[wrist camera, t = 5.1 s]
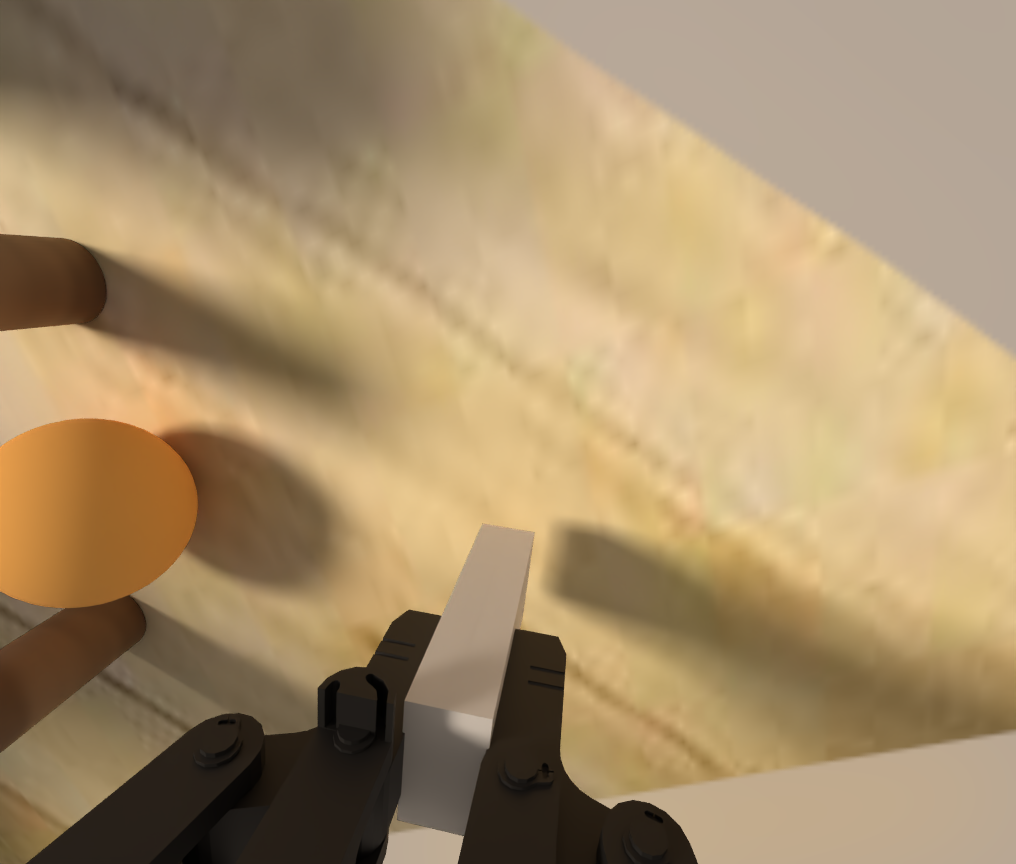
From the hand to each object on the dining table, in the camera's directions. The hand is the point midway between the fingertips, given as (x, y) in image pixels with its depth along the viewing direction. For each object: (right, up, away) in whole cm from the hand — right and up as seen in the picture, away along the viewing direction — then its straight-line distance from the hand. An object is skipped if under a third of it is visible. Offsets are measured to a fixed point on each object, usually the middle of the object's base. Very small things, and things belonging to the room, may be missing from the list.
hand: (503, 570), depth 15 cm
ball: (-12, +2, +1) cm, 12 cm away
